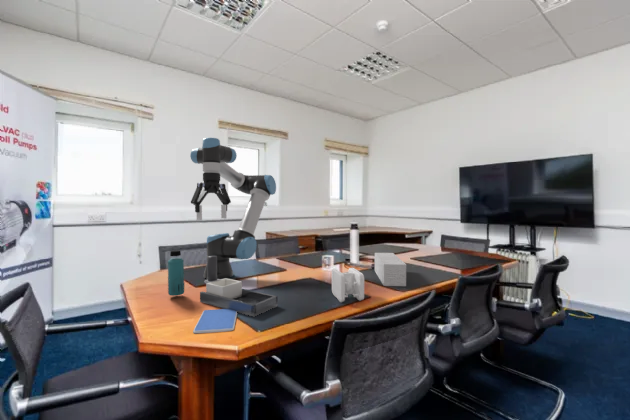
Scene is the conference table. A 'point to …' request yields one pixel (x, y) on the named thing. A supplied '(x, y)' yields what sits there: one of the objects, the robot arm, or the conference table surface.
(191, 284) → the conference table surface
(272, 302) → the bay
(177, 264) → the beverage bottle
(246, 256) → the robot arm
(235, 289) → the open tray with handle
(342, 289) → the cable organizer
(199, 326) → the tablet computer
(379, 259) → the grey rectangular block
